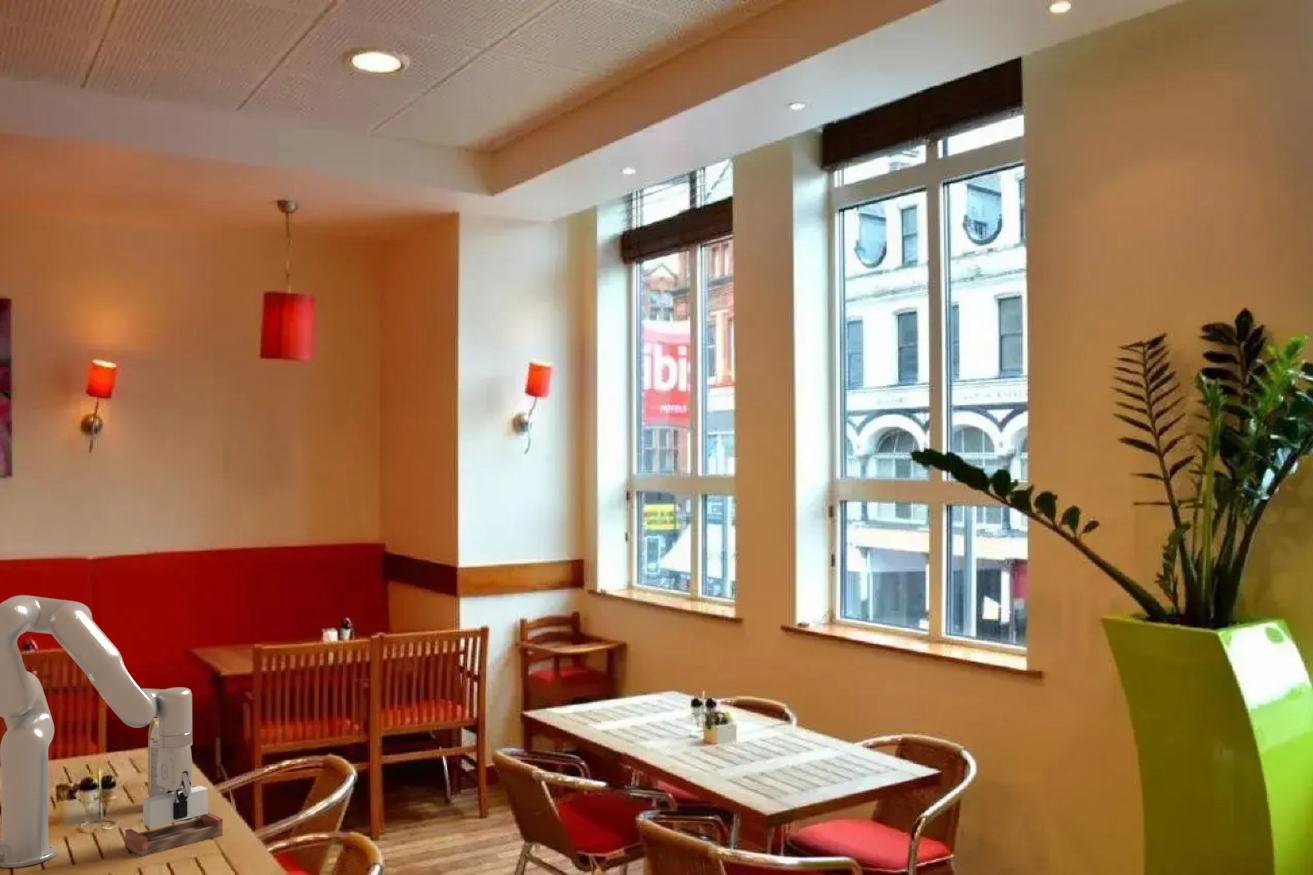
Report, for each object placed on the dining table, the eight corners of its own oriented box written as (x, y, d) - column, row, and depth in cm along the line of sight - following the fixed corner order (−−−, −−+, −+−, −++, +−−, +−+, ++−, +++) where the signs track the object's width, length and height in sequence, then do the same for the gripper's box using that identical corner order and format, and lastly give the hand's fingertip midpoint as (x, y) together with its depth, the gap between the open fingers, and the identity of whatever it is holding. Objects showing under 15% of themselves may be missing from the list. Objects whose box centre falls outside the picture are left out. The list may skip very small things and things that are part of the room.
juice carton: (183, 797, 301) (184, 709, 302) (188, 805, 294) (189, 714, 295) (146, 803, 296) (147, 713, 297) (150, 811, 289) (151, 719, 290)
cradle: (141, 856, 256) (142, 838, 256) (125, 846, 262) (125, 829, 263) (222, 835, 270) (222, 818, 271) (204, 826, 277) (204, 810, 277)
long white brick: (150, 828, 260) (150, 802, 260) (143, 824, 263) (143, 799, 263) (208, 813, 271) (208, 788, 271) (200, 810, 273) (200, 785, 273)
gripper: (145, 737, 270) (145, 812, 270) (175, 749, 259) (176, 827, 258) (175, 731, 275) (176, 805, 275) (206, 742, 264) (207, 819, 264)
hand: (176, 815), depth 267 cm, fingers closed on long white brick, 4 cm apart
